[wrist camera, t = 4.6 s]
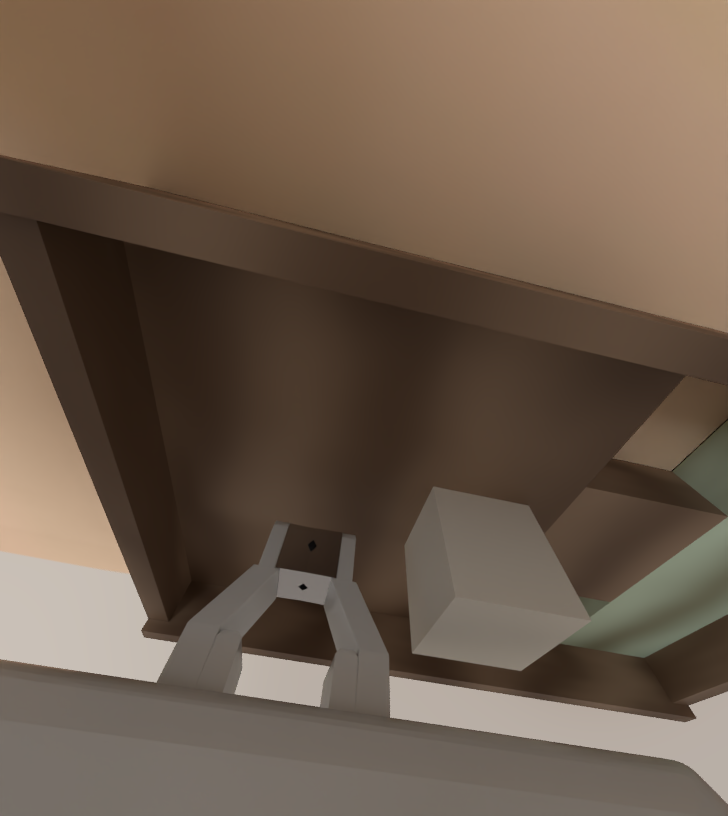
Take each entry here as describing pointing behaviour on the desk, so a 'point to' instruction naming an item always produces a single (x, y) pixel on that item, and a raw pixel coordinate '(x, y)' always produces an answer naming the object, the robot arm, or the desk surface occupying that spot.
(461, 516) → the block
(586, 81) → the desk surface
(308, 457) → the dark brown rimmed tray
